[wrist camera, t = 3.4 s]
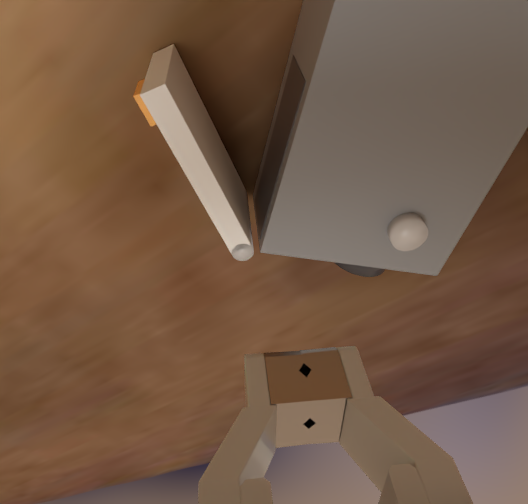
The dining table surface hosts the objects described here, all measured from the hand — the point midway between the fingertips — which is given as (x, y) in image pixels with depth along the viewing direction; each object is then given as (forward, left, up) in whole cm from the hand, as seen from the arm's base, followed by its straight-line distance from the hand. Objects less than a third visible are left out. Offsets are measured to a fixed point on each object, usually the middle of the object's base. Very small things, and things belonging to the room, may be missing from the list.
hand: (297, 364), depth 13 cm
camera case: (-2, +7, -18) cm, 20 cm away
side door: (+2, -3, -18) cm, 19 cm away
